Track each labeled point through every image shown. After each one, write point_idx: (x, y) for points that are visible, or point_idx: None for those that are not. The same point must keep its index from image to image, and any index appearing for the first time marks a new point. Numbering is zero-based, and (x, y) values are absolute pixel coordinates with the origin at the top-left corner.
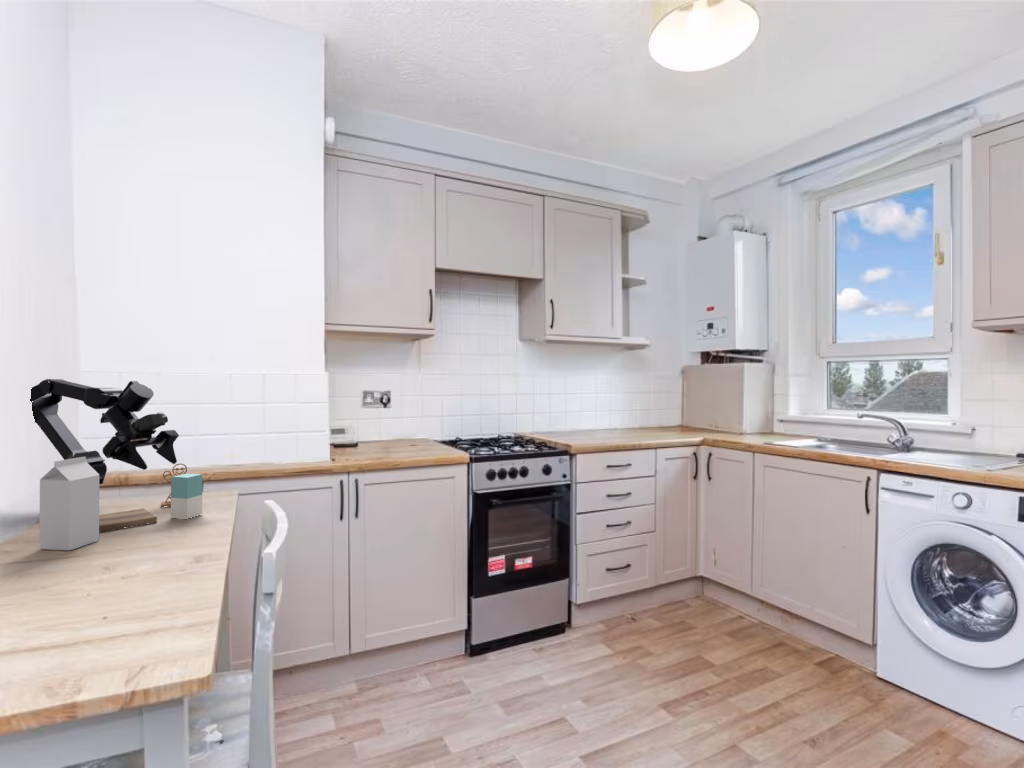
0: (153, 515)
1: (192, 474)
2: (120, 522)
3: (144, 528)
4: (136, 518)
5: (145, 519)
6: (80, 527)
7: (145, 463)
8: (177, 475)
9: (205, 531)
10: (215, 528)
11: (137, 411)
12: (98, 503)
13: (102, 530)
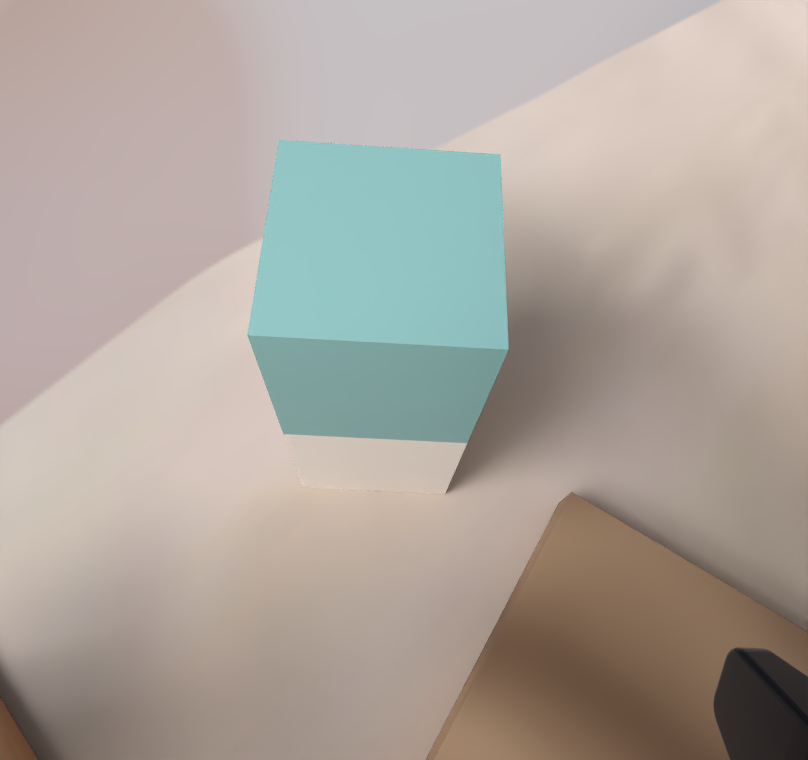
0: (550, 548)
1: (306, 225)
2: (786, 626)
3: (686, 472)
4: (661, 605)
5: (636, 533)
6: None
7: (800, 701)
8: (408, 338)
9: (607, 143)
10: (550, 133)
11: None
12: None
13: None
